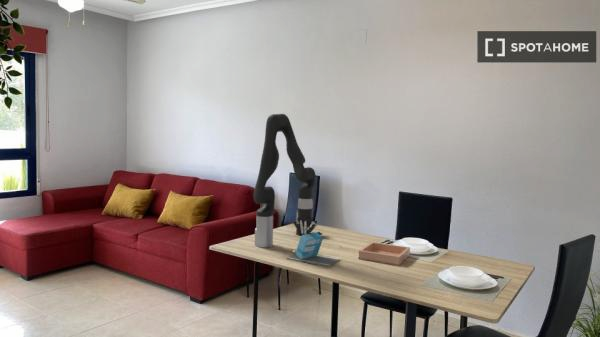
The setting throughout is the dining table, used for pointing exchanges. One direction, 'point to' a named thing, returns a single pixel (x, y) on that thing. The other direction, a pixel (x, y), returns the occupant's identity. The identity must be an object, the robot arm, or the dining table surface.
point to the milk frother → (300, 232)
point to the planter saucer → (384, 253)
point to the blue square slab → (309, 245)
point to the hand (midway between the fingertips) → (304, 240)
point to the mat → (316, 260)
